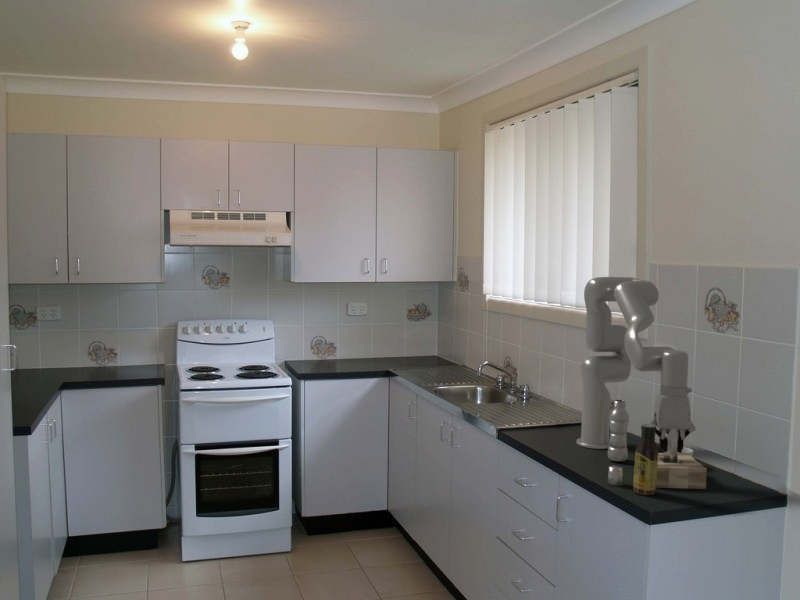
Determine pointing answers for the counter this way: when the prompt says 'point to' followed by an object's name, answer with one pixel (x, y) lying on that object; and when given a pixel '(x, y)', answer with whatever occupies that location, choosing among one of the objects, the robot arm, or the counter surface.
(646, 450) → the sauce bottle
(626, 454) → the plastic bottle
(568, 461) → the counter surface
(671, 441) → the long pin
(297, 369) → the counter surface
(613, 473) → the short pin
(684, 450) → the teacup
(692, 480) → the hole block
